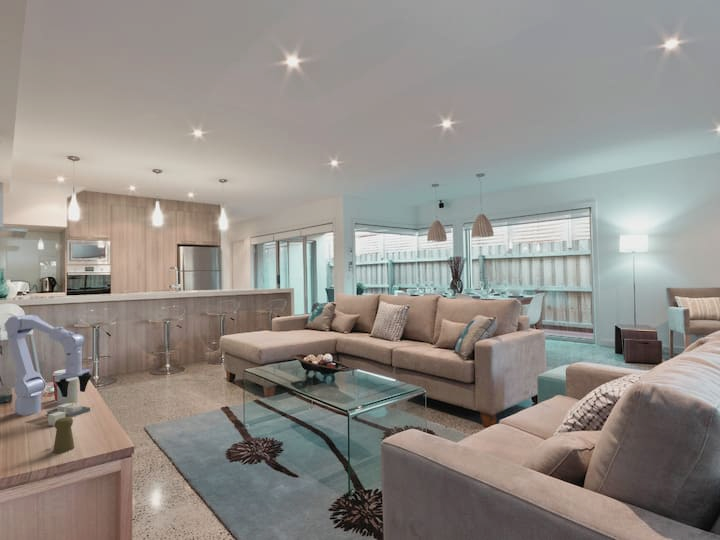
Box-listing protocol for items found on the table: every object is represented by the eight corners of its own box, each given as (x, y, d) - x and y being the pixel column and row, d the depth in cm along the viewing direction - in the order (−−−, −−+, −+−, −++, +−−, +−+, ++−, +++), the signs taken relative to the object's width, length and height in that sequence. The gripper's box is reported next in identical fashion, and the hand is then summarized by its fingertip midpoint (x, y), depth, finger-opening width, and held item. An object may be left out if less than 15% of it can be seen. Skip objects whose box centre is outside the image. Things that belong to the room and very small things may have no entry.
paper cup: (50, 402, 191) (50, 373, 191) (54, 398, 197) (54, 370, 197) (70, 400, 194) (70, 371, 194) (73, 396, 201) (73, 368, 201)
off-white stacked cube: (66, 416, 171) (66, 407, 171) (75, 413, 174) (75, 404, 174) (73, 417, 169) (73, 408, 169) (82, 414, 173) (82, 405, 173)
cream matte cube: (57, 415, 172) (57, 406, 172) (66, 412, 176) (66, 403, 176) (64, 416, 171) (64, 406, 171) (73, 413, 175) (73, 403, 175)
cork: (60, 445, 143) (60, 415, 143) (78, 445, 144) (78, 414, 144) (48, 453, 137) (48, 421, 137) (67, 452, 138) (67, 421, 138)
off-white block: (48, 424, 159) (48, 414, 159) (58, 421, 163) (58, 411, 163) (55, 425, 158) (55, 415, 158) (65, 422, 162) (65, 412, 162)
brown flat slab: (23, 425, 162) (23, 422, 162) (42, 419, 169) (42, 416, 169) (51, 431, 157) (51, 427, 157) (69, 424, 163) (69, 421, 163)
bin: (47, 418, 171) (47, 411, 171) (69, 410, 179) (69, 404, 179) (68, 421, 166) (68, 414, 166) (90, 414, 175) (90, 407, 175)
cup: (67, 407, 184) (67, 381, 184) (52, 406, 185) (52, 380, 185) (82, 402, 192) (82, 377, 192) (68, 401, 193) (68, 376, 193)
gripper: (62, 367, 164) (62, 400, 164) (96, 359, 177) (96, 390, 177) (51, 365, 166) (51, 398, 166) (85, 358, 180) (85, 388, 180)
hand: (73, 394), depth 172 cm, fingers open, 7 cm apart
